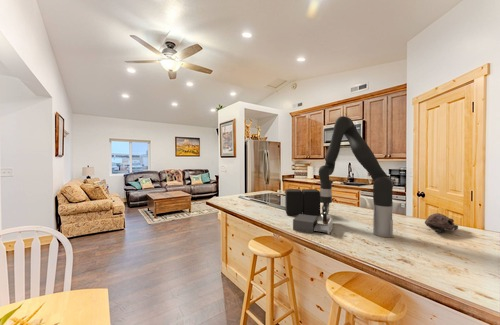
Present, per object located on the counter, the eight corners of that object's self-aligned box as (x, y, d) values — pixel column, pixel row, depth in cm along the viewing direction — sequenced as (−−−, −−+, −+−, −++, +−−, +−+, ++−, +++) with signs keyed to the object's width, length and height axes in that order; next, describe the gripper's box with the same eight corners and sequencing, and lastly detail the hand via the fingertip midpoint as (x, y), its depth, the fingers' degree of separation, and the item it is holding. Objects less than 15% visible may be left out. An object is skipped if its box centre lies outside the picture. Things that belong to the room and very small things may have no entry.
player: (317, 226, 140) (317, 216, 139) (312, 233, 127) (312, 222, 127) (299, 223, 145) (299, 213, 145) (293, 229, 133) (293, 219, 133)
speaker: (316, 212, 173) (316, 189, 172) (320, 216, 162) (320, 191, 161) (285, 211, 174) (285, 189, 174) (286, 215, 164) (286, 191, 163)
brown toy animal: (444, 239, 116) (445, 221, 115) (417, 232, 126) (418, 215, 126) (461, 230, 129) (461, 214, 128) (435, 224, 139) (435, 209, 139)
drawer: (332, 227, 135) (332, 217, 135) (329, 234, 123) (329, 223, 123) (317, 225, 139) (317, 215, 139) (313, 231, 128) (313, 221, 127)
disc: (331, 217, 145) (331, 214, 145) (329, 220, 140) (330, 216, 140) (322, 216, 148) (322, 213, 148) (320, 218, 143) (320, 215, 143)
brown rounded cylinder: (329, 223, 145) (329, 217, 145) (328, 224, 142) (328, 219, 142) (323, 222, 147) (323, 217, 147) (322, 223, 144) (322, 218, 143)
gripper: (330, 197, 135) (330, 223, 136) (333, 193, 148) (333, 217, 149) (318, 196, 139) (317, 222, 140) (321, 192, 152) (321, 216, 152)
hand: (325, 219), depth 144 cm, fingers open, 6 cm apart
